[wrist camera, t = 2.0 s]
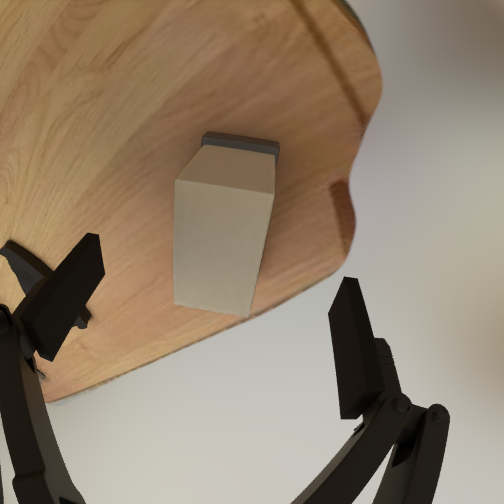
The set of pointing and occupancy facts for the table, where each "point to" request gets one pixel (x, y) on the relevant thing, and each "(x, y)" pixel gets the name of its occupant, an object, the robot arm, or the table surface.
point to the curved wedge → (33, 274)
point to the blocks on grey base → (222, 222)
